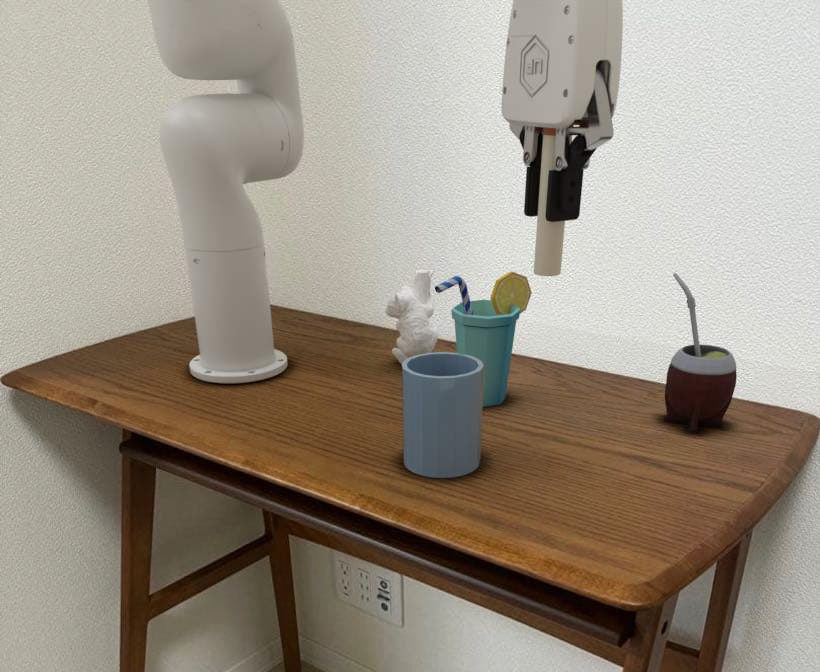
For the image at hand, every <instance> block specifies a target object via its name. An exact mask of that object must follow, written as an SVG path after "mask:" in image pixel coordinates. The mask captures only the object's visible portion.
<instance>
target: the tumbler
mask: <svg viewBox="0 0 820 672" xmlns="http://www.w3.org/2000/svg"><path fill="white" fill-rule="evenodd" d="M483 379H484V365H483V363H482V361H481V360H479V359H477V358H475V357H473V356H470V355H465V354H461V353H457V352H452V351H451V352H450V351H437V352H435V351H434V352H433V351H432V352H431V353H425V354H419V355H415V356H413V357H410V358H407V359H406V360H405V361H404V362H403V363H402V364H401V407H402V408H401V409H402V411H401V414H402V456H403V465H404V467H405V468H406V469H407V470H408V471H409V472H412V473H413V474H416V475H419V476H422V477H427V478H434V479H452V478H457V477H463V476H466V475H468V474H470V473H473V472H474V471H476V470H477V469H478V468H479V466H480V464H481V455H482V434H483V433H482V432H483V431H482V430H483V429H482V428H483V408H484V407H483Z"/></svg>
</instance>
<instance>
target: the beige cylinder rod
mask: <svg viewBox="0 0 820 672" xmlns="http://www.w3.org/2000/svg"><path fill="white" fill-rule="evenodd" d="M569 127H575V125H574V122H573V123H572V124H571V125H570V126H569ZM555 140H556V128H545V127H543V145H542V159H541V174H540V188H539V202H538V216H536V217H537V219H536V231H535V232H536V234H535V247H534V261H533V262H534V263H533V274H534V275H535V276H540V277H555V276H559V275H561V271H562V263H563V262H562V261H563V251H564V250H563V249H564V240H565V239H564V237H565V226H566V221H558V222H550V221H547V220H546V217H545V215H546V201H547V188H548V175H549V170H556V169H555V166H554V159H555ZM572 141H573V136H570V143H569V145H570V144H571V142H572Z"/></svg>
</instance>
